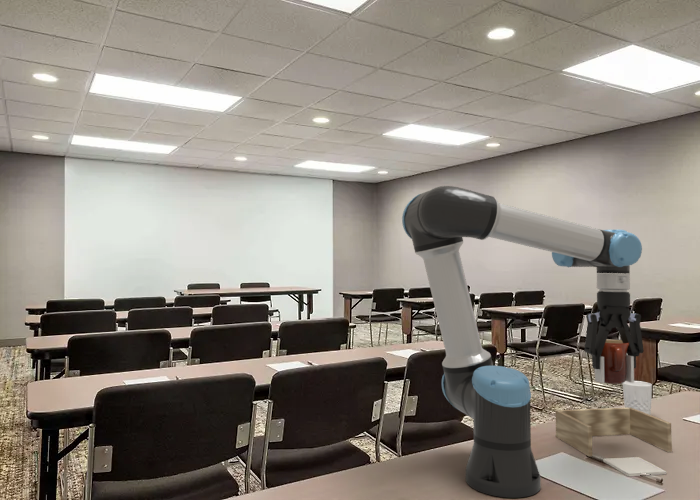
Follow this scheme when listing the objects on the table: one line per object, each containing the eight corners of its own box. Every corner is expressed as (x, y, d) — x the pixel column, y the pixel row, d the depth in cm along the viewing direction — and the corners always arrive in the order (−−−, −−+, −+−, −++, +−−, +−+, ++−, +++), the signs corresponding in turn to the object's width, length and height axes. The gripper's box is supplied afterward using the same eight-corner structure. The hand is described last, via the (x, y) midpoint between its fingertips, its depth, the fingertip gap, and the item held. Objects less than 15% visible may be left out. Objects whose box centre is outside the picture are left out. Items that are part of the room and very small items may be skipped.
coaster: (628, 476, 113) (628, 473, 113) (603, 461, 122) (603, 458, 122) (666, 474, 114) (666, 471, 114) (638, 459, 123) (638, 456, 123)
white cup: (629, 411, 165) (628, 379, 165) (657, 416, 159) (656, 383, 159) (618, 415, 160) (618, 382, 160) (646, 421, 154) (645, 387, 154)
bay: (588, 456, 125) (587, 427, 125) (556, 436, 140) (555, 410, 140) (671, 451, 128) (671, 423, 128) (631, 433, 143) (630, 407, 143)
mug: (587, 377, 137) (587, 338, 138) (622, 379, 136) (622, 339, 136) (600, 387, 125) (600, 344, 126) (640, 389, 124) (639, 345, 124)
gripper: (585, 291, 126) (586, 386, 125) (660, 291, 129) (661, 384, 129) (567, 290, 134) (568, 379, 133) (639, 290, 137) (640, 377, 136)
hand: (614, 381), depth 131 cm, fingers closed on mug, 7 cm apart
